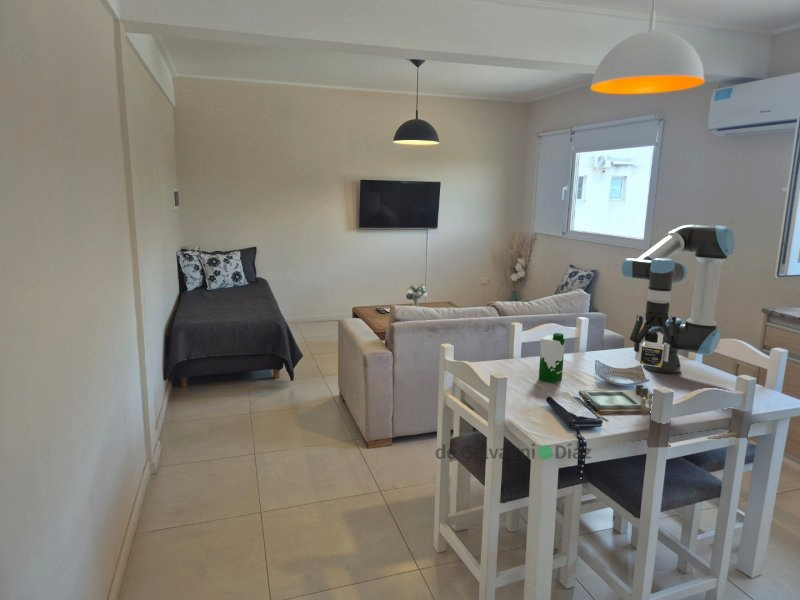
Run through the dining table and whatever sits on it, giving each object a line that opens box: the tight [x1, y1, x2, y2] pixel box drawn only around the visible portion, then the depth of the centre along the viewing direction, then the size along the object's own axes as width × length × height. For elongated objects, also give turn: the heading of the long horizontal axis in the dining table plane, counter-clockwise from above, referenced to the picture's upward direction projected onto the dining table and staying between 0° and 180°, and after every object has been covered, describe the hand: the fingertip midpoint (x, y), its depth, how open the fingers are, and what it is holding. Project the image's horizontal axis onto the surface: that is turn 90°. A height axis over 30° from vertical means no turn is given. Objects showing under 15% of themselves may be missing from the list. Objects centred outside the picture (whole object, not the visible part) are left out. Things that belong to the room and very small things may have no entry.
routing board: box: [578, 384, 654, 415], centre depth 202 cm, size 28×20×4 cm
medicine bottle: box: [639, 330, 664, 367], centre depth 199 cm, size 7×7×12 cm
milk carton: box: [538, 332, 567, 384], centre depth 224 cm, size 9×9×20 cm
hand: (651, 360), depth 200 cm, fingers closed on medicine bottle, 9 cm apart
